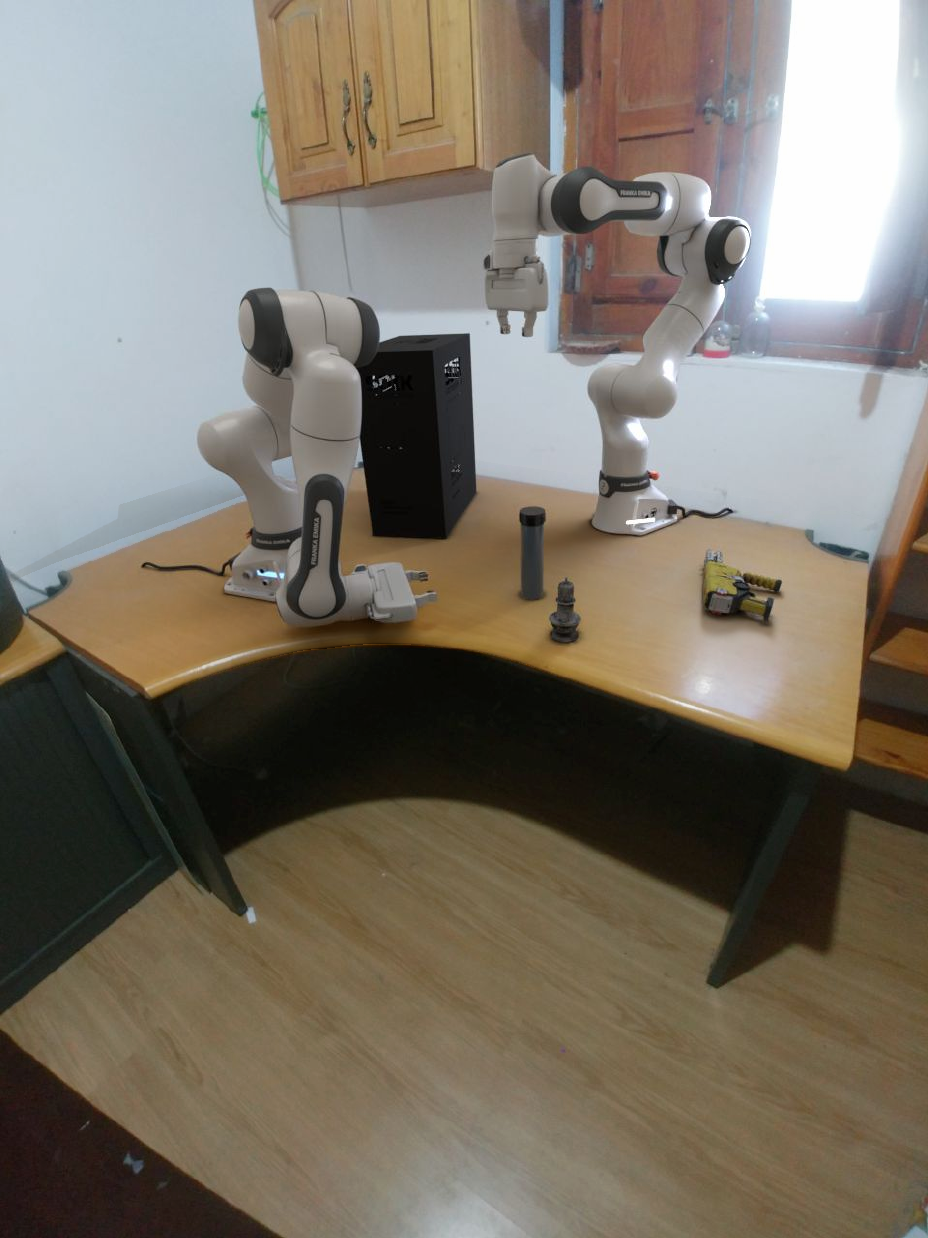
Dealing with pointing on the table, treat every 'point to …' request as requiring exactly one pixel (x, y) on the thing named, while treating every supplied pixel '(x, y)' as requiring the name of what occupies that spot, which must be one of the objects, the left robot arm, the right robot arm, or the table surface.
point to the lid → (532, 516)
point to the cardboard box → (418, 435)
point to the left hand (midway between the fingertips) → (432, 585)
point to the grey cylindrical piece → (532, 561)
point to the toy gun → (734, 588)
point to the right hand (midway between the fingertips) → (516, 335)
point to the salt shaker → (565, 614)
